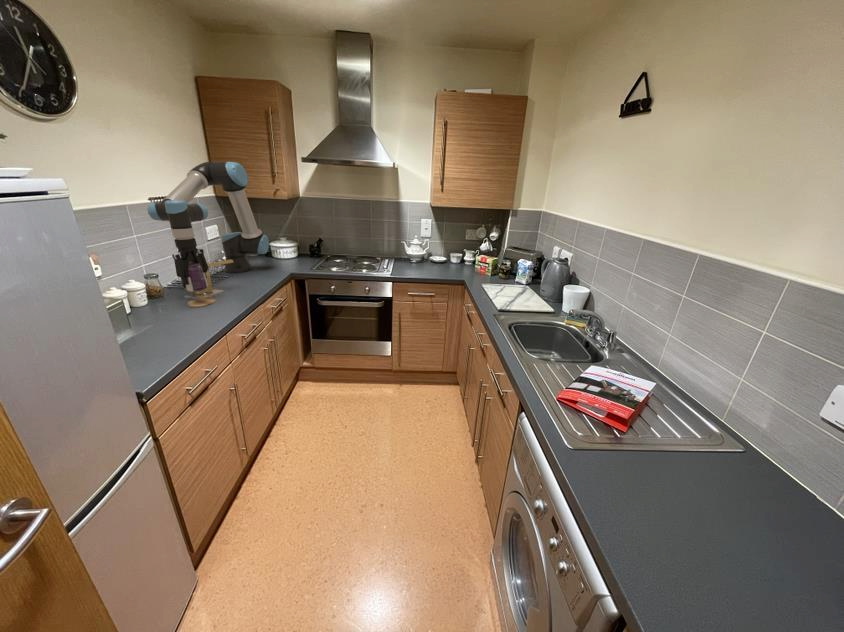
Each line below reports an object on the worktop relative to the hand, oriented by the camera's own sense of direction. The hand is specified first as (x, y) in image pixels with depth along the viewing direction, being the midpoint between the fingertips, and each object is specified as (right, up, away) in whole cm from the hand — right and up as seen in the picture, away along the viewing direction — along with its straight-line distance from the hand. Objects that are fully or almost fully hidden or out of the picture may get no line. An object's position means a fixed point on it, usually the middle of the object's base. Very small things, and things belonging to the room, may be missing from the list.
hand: (197, 288), depth 148 cm
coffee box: (-18, +2, +24) cm, 29 cm away
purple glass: (0, -1, 0) cm, 1 cm away
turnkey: (-2, +1, +18) cm, 18 cm away
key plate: (-6, -2, +13) cm, 15 cm away
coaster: (0, -7, +3) cm, 7 cm away
